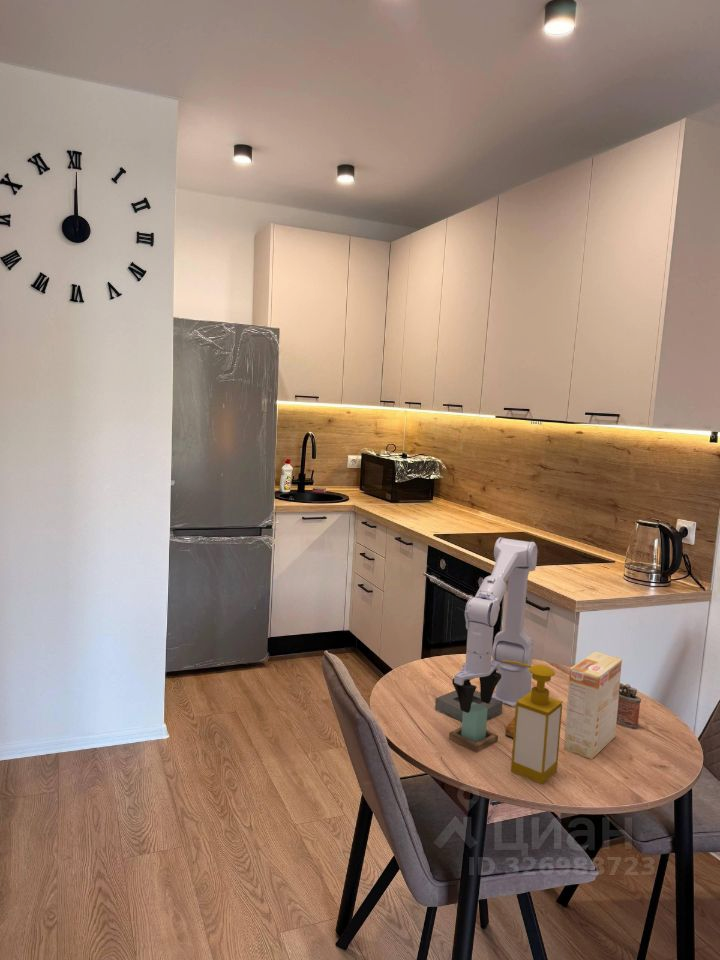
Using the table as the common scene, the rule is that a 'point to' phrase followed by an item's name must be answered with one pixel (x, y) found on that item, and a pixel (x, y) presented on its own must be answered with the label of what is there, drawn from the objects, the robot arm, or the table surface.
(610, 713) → the coffeecake box
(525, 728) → the soap bottle
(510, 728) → the pastry
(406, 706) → the table surface
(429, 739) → the table surface
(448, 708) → the socket block
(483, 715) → the teal peg
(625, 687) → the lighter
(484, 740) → the stand frame
